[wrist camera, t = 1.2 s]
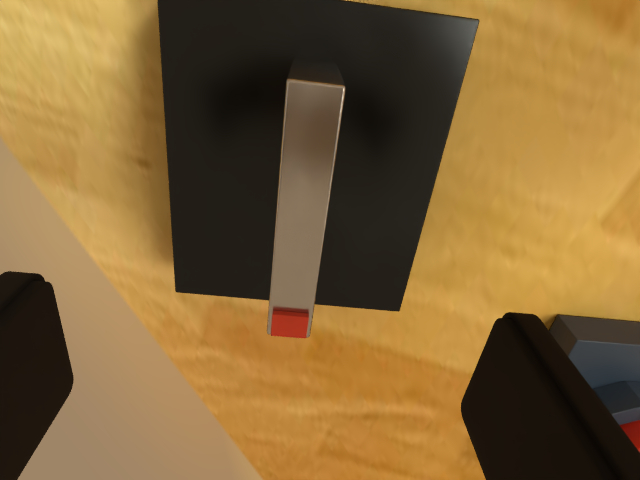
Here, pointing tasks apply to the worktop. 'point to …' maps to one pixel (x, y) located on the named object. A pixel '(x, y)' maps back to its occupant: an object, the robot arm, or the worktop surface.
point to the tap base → (266, 137)
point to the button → (633, 432)
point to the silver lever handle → (303, 192)
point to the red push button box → (605, 360)
